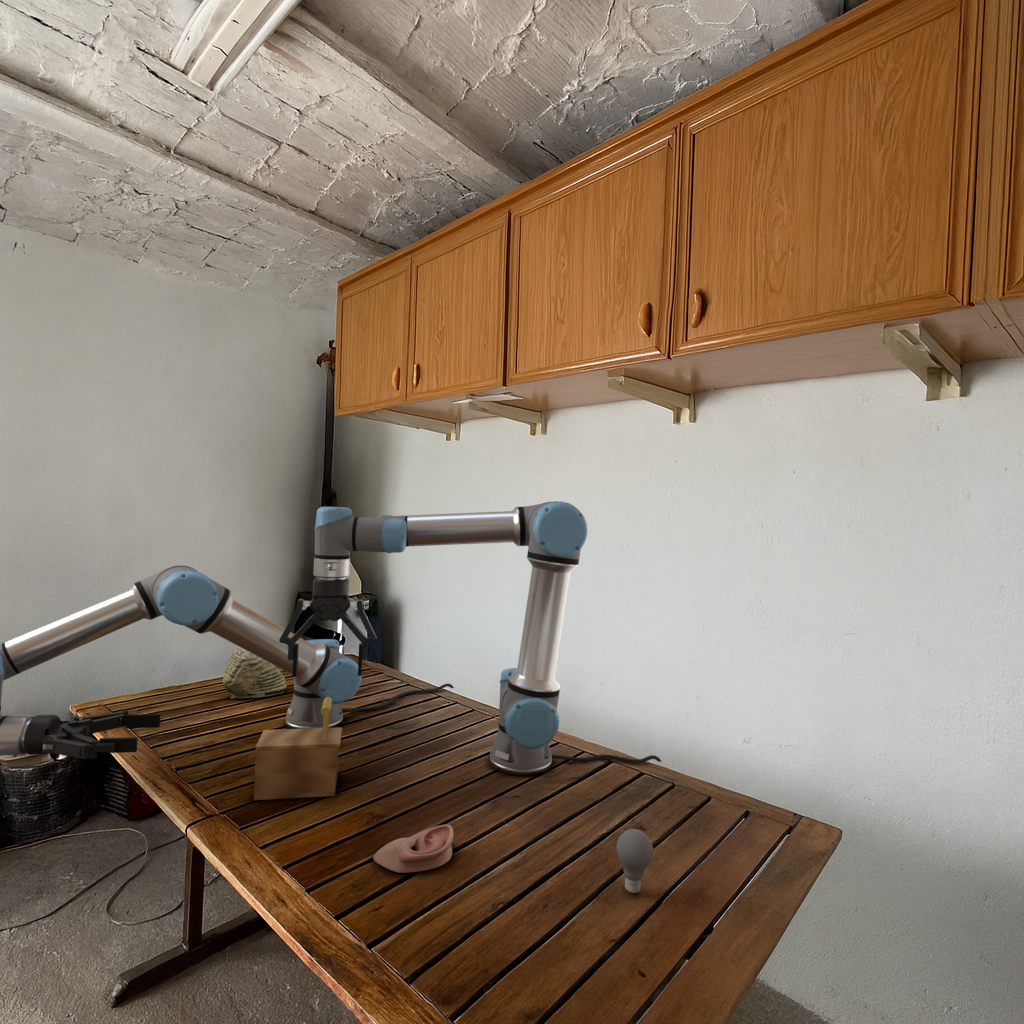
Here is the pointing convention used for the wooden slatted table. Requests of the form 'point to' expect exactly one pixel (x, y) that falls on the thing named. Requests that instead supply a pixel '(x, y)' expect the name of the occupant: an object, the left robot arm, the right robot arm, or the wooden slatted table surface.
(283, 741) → the lid
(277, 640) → the left robot arm
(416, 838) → the anatomical model
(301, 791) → the chest
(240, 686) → the fossil
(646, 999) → the wooden slatted table surface
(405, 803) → the wooden slatted table surface
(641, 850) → the light bulb
